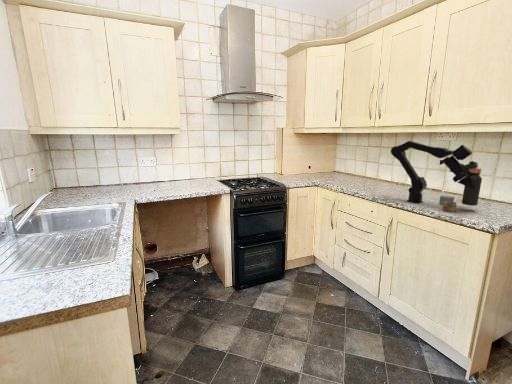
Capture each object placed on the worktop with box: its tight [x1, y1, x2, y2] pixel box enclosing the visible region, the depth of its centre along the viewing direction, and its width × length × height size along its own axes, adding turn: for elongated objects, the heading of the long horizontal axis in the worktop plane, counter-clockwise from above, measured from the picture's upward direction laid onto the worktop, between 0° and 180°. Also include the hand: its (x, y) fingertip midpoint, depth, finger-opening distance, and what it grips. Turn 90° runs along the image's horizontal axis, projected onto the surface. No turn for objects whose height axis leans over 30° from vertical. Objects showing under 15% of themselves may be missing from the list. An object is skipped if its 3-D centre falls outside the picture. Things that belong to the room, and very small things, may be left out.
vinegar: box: [461, 167, 483, 207], centre depth 145 cm, size 7×7×20 cm
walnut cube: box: [442, 201, 457, 214], centre depth 148 cm, size 5×5×5 cm
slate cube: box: [438, 195, 455, 206], centre depth 161 cm, size 5×5×5 cm
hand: (475, 187), depth 144 cm, fingers closed on vinegar, 6 cm apart
